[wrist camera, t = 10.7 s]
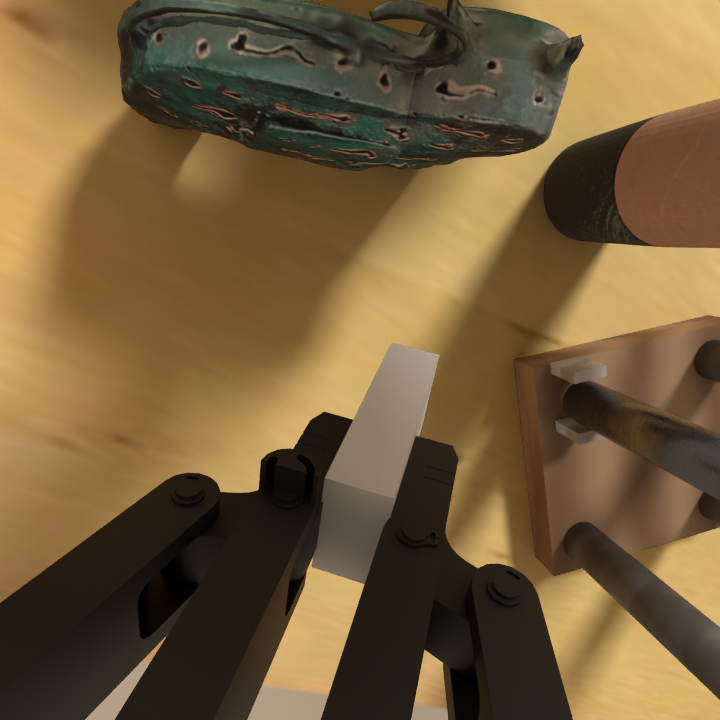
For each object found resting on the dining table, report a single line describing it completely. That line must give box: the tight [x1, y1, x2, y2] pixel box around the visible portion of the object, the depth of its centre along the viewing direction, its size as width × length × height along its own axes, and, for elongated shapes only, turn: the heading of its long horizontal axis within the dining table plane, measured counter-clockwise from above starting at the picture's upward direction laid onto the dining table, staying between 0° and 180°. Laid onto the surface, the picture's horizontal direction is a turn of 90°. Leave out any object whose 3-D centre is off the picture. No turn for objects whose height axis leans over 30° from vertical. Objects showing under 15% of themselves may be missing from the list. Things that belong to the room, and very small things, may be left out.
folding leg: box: [563, 380, 720, 501], centre depth 33 cm, size 3×3×15 cm
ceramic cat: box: [117, 0, 584, 171], centre depth 28 cm, size 20×6×20 cm, turn 83°
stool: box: [514, 315, 720, 700], centre depth 38 cm, size 17×17×20 cm
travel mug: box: [544, 99, 720, 248], centre depth 33 cm, size 8×8×20 cm
